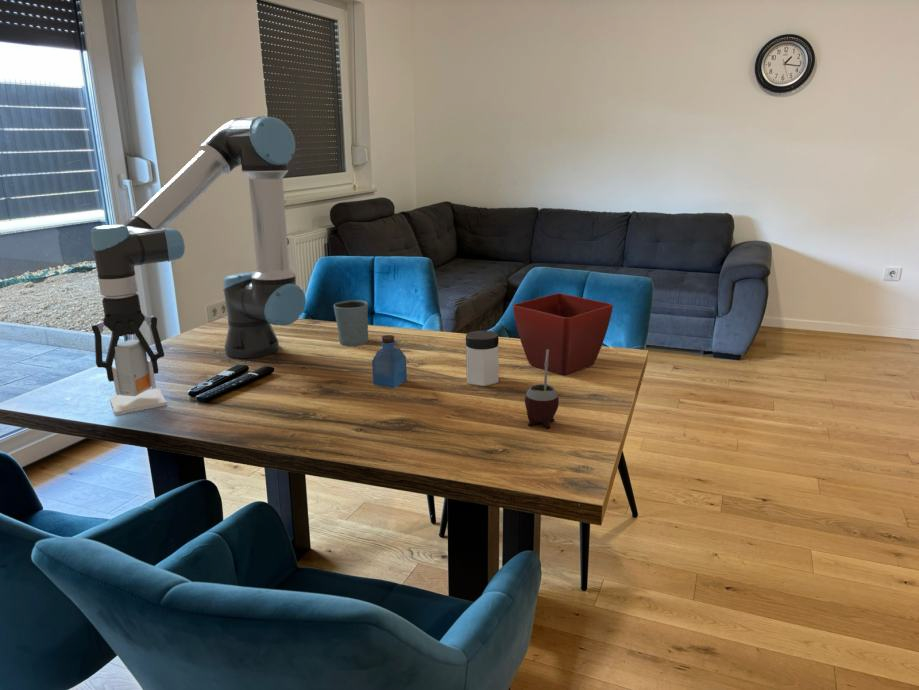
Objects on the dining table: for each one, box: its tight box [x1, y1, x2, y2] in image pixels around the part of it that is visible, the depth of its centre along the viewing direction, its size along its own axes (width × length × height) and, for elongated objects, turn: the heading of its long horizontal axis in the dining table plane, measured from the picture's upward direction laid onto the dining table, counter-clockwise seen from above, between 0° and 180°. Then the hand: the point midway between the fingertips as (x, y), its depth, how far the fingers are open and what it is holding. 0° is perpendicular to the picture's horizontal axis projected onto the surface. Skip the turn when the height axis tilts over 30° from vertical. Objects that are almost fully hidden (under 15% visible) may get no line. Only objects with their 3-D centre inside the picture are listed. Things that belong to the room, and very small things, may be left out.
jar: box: [465, 330, 500, 387], centre depth 168 cm, size 9×8×12 cm
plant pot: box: [512, 292, 614, 376], centre depth 177 cm, size 19×19×17 cm
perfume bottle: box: [371, 334, 408, 389], centre depth 168 cm, size 6×6×12 cm
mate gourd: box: [524, 349, 560, 430], centre depth 142 cm, size 8×8×15 cm
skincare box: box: [113, 339, 152, 396], centre depth 156 cm, size 6×4×12 cm
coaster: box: [109, 387, 168, 416], centre depth 159 cm, size 11×11×1 cm
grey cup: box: [333, 299, 369, 347], centre depth 202 cm, size 10×10×12 cm
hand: (136, 389), depth 158 cm, fingers closed on skincare box, 7 cm apart
